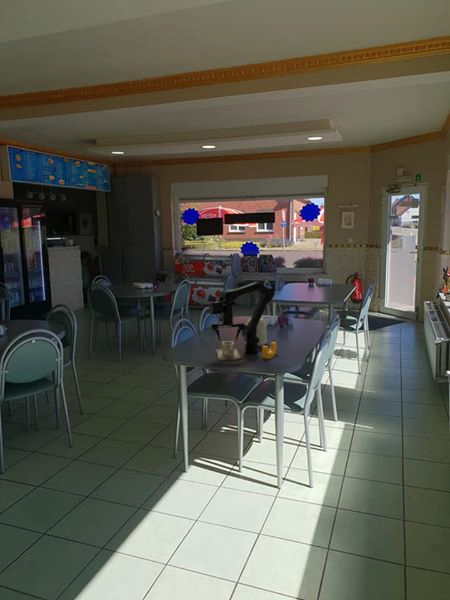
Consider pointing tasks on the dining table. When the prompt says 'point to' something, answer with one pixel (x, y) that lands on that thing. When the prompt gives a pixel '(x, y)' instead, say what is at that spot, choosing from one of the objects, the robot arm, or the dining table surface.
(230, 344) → the collar
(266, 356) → the pipe clamp
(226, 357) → the post board
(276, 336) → the dining table surface
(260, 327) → the jar
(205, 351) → the dining table surface
